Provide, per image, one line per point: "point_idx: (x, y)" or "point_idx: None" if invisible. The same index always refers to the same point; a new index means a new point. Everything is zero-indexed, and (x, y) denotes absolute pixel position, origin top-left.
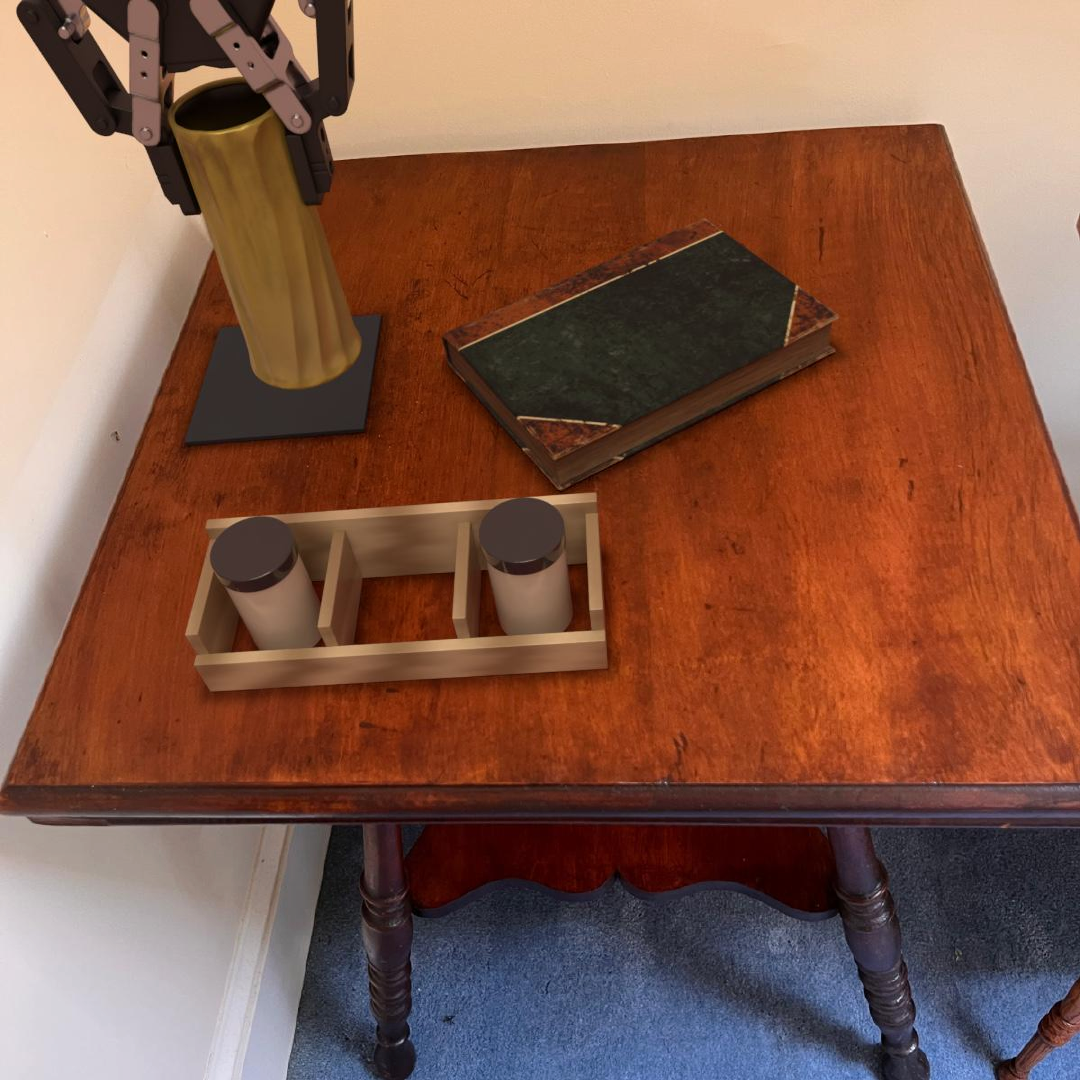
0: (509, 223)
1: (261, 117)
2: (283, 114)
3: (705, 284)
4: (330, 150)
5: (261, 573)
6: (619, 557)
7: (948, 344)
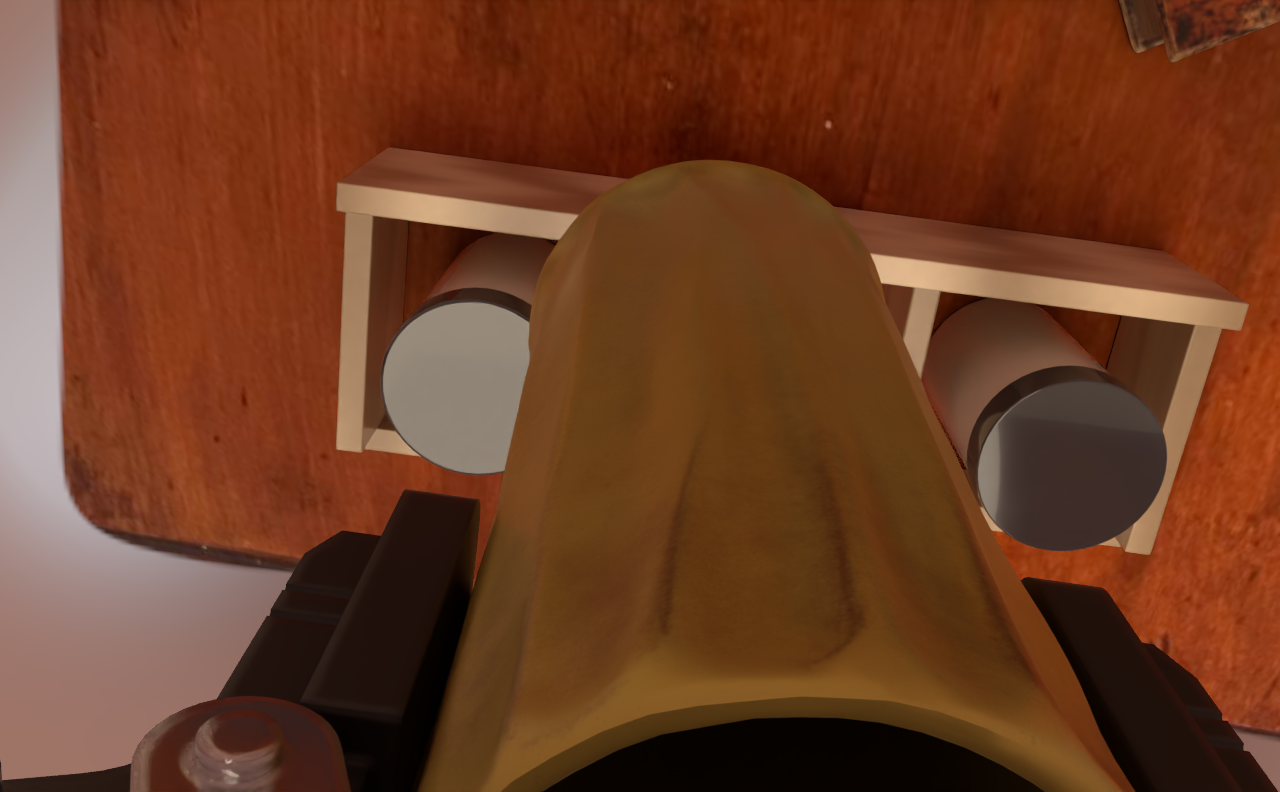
0: None
1: None
2: None
3: None
4: (1235, 737)
5: (503, 466)
6: (1197, 267)
7: None
